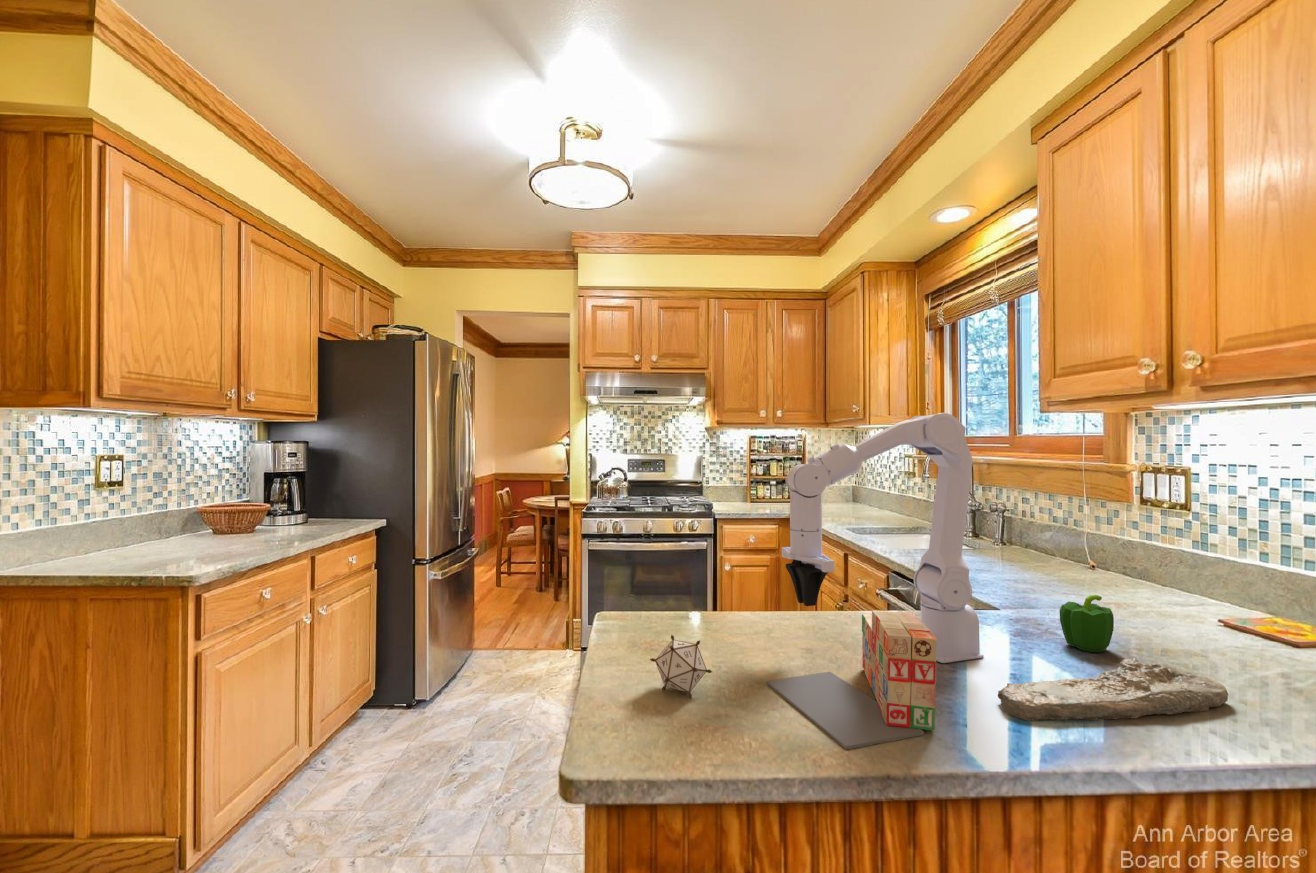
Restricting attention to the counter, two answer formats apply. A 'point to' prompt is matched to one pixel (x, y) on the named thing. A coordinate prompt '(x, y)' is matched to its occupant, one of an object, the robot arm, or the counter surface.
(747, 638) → the counter surface
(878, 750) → the counter surface
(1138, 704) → the long grey stone
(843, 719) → the mat
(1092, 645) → the bell pepper
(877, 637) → the stack of blocks
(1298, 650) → the counter surface
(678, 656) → the game die
